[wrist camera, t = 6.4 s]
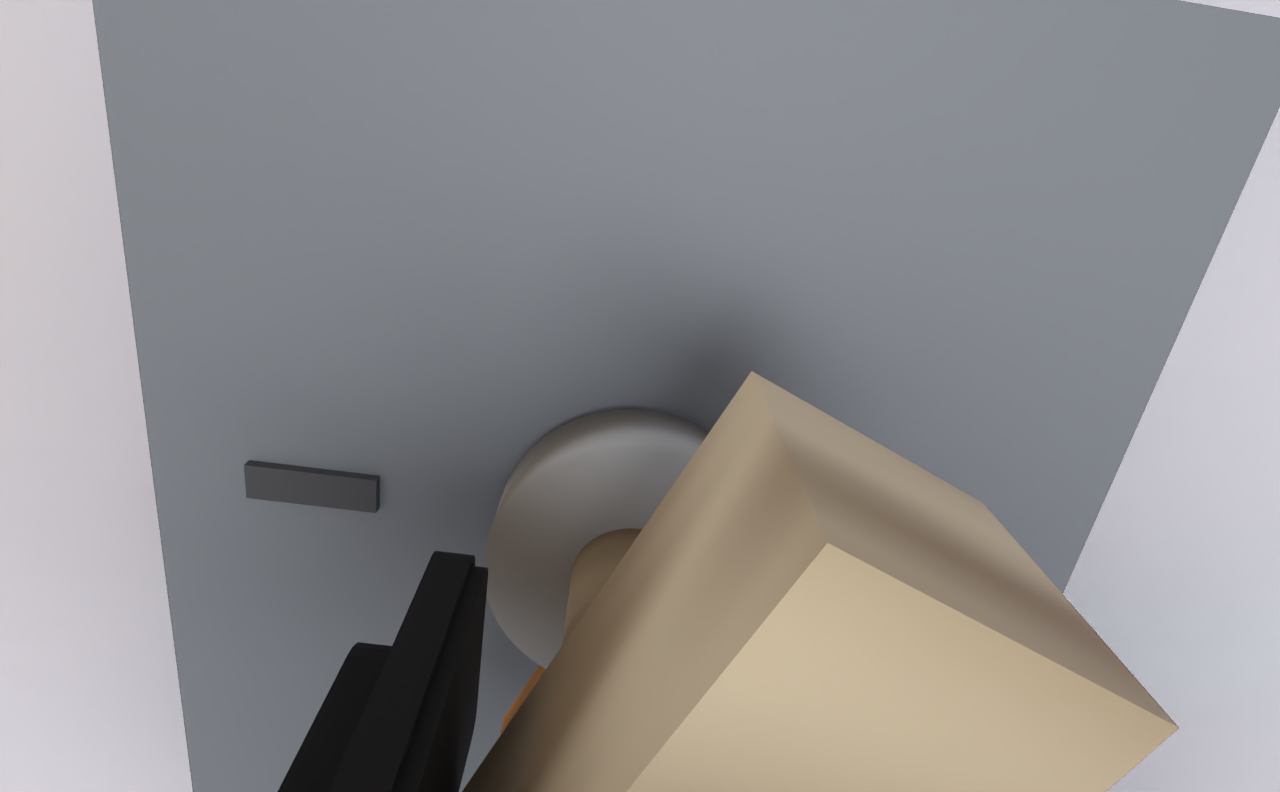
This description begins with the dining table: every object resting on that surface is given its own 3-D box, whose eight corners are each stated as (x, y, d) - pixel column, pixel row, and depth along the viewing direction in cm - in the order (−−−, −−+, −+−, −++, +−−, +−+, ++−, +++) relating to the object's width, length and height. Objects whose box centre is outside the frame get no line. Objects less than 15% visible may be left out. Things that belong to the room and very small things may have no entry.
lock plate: (1216, 35, 13) (1328, 22, 11) (900, 824, 20) (929, 905, 18) (159, -145, 11) (56, -198, 9) (240, 762, 19) (193, 842, 17)
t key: (651, 233, 12) (686, 468, 4) (897, 379, 13) (1277, 780, 5) (402, 657, 15) (172, 1214, 7) (613, 747, 16) (597, 1317, 8)
